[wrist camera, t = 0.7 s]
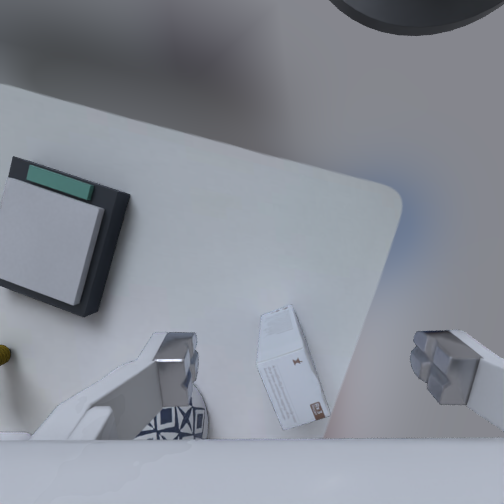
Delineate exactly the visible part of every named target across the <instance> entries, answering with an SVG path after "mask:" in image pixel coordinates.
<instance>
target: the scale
mask: <svg viewBox="0 0 504 504" xmlns="http://www.w3.org/2000/svg"><path fill="white" fill-rule="evenodd" d="M129 197H130V194H127V193H124V192H121V191H118V190H115V189H112V188H109V187H106V186H103V185H100V184H97V183H94V182H91V181H88V180H85V179H82V178H79V177H76V176H73V175H70V174H67V173H64V172H61V171H58V170H55V169H52V168H49V167H46V166H43V165H40V164H37V163H34V162H31V161H28V160H24V159H21V158H17V157H14V156H13V158H12V163H11V167H10V172H9V176H8V177H7V180H6V184H5V188H4V193H3V197H2V201H1V206H0V286H2V287H5V288H7V289H10V290H13V291H15V292H18V293H21V294H23V295H26V296H29V297H31V298H34V299H37V300H39V301H42V302H45V303H47V304H50V305H53V306H55V307H58V308H61V309H63V310H66V311H69V312H71V313H74V314H77V315H79V316H82V317H86V316H88V315H90V314H93V313H95V312H97V311H98V309H99V305H100V301H101V298H102V294H103V291H104V287H105V283H106V280H107V276H108V273H109V269H110V265H111V262H112V258H113V254H114V251H115V247H116V244H117V240H118V236H119V233H120V229H121V225H122V222H123V218H124V215H125V211H126V207H127V204H128V200H129Z"/></svg>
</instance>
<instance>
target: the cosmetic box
mask: <svg viewBox="0 0 504 504" xmlns="http://www.w3.org/2000/svg"><path fill="white" fill-rule="evenodd" d="M256 367H257V369H258V372H259V374H260V376H261V379H262V381H263V383H264V386H265V388H266V391H267V393H268V396H269V398H270V400H271V403H272V405H273V408H274V410H275V412H276V415H277V417H278V420H279V422H280V424H281V427H282V429H283V430H287V429H290V428H294V427H297V426H300V425H303V424H306V423H309V422H313V421H316V420H319V419H322V418H325V417H329V416H330V410H329V407H328V404H327V401H326V398H325V395H324V392H323V389H322V386H321V383H320V380H319V377H318V374H317V371H316V368H315V366H314V363H313V360H312V357H311V354H310V351H309V348H308V345H307V342H306V339H305V337H304V334H303V331H302V329H301V326H300V324H299V321H298V319H297V316H296V314H295V311H294V309H293V306H292V305H289V306H286V307H283V308H280V309H277V310H274V311H271V312H269V313H266V314H263V315H262V316H261V321H260V331H259V340H258V350H257V360H256Z"/></svg>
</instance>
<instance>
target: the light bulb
mask: <svg viewBox="0 0 504 504" xmlns="http://www.w3.org/2000/svg"><path fill="white" fill-rule="evenodd" d="M10 356H11V351H10V349H9V348H7V347H6V346H4V345H0V366H1V365H3V364H5V363H7V362H8V361H9V359H10Z"/></svg>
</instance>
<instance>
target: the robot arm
mask: <svg viewBox="0 0 504 504" xmlns="http://www.w3.org/2000/svg"><path fill="white" fill-rule="evenodd" d="M413 341H414V343H415V345H416V347H415V348H414V349H413V350H412V351H411V356H410V362H411V367H412V369H413V371H414V373H415V374H416V376H417V377H418V378H419V379H421V380H422V381H424V382H425V383H427V389H428V391H429V392H430V393H431V394H432V395H433V397H434V398H435V399H436V400H437V402H438V403H439V404H440V405H467V407H468V408H469V409H471V410H472V411H474V412H475V413H477V414H478V415H480V416H481V417H483V418H484V419H486V420H487V421H488V422H490V423H491V424H493V425H494V426H496V427H497V428H499V429H500V430H502V431H503V432H504V358H500V357H498V356H497V355H496V354H494V353H493V352H492V351H490V350H489V349H487V348H486V347H485V346H484V345H482V344H481V343H479V342H478V341H477V340H475V339H474V338H473V337H471V336H470V335H469V334H467V333H466V332H465V331H462V330H445V331H417V332H416V333H415V335H414V339H413ZM196 345H197V335H196V333H194V332H169V333H168V332H155V333H153V334H152V336H151V337H150V339H149V341H148V342H147V344H146V345H145V347H144V349H143V350H142V352H141V353H140V355H139V356H138V358H137V360H136V361H131V362H129V363H127V364H126V365H124V366H122V367H121V368H119V369H117V370H116V371H114V372H112V373H111V374H109V375H107V376H106V377H104V378H102V379H101V380H99V381H97V382H96V383H94V384H92V385H91V386H89V387H87V388H86V389H84V390H82V391H81V392H79V393H77V394H76V395H74V396H72V397H71V398H69V399H67V400H66V401H64V402H62V403H61V404H59V405H58V406H57V407H56V408H55V409H54V410H53V412H52V413H51V414H50V415H49V416H48V417H47V419H46V420H45V421H44V422H43V423H42V425H41V426H40V427H39V428H38V429H37V430H36V432H35V433H34V434H33V435H32V436H31V438H30V439H29V440H0V504H504V438H354V439H352V438H347V439H345V438H344V439H181V440H133V439H134V438H135V437H136V436H137V435H138V434H139V433H140V432H141V431H142V430H143V429H144V428H145V427H146V426H147V425H148V424H149V423H150V422H151V421H152V419H153V418H154V417H155V416H156V415H157V414H158V413H159V412H160V411H161V410H162V409H163V407H183V406H189V403H190V399H191V396H192V392H193V384H192V383H193V382H194V381H195V380H196V377H197V373H198V365H199V358H198V352H197V351H196V350H195V348H196Z"/></svg>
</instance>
